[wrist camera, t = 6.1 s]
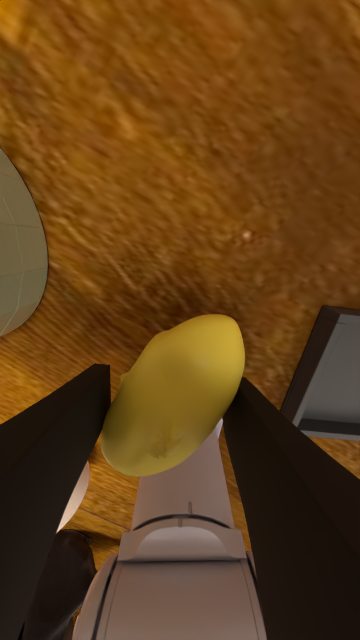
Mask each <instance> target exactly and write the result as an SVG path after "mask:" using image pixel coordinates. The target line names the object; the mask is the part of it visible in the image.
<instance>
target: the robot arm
mask: <svg viewBox="0 0 360 640" xmlns="http://www.w3.org/2000/svg"><path fill="white" fill-rule="evenodd" d="M110 404H111V389H110V365H105V364H94V365H92V366H91V367H89V368H88V369H86V370H85V371H83V372H82V373H80V374H79V375H77V376H76V377H75V378H73V379H72V380H70V381H69V382H67V383H66V384H64V385H63V386H61V387H60V388H58V389H57V390H56V391H54V392H53V393H51V394H50V395H48V396H47V397H45V398H43V399H42V400H40V401H38V402H37V403H35V404H34V405H32V406H30V407H29V408H27V409H26V410H24V411H22V412H21V413H19V414H18V415H16V416H14V417H13V418H11V419H9V420H8V421H6V422H4V423H2V424H1V425H0V640H18V637H19V634H20V631H21V628H22V625H23V623H24V620H25V617H26V614H27V611H28V608H29V606H30V603H31V600H32V597H33V595H34V592H35V589H36V586H37V584H38V581H39V578H40V575H41V573H42V570H43V567H44V564H45V562H46V559H47V556H48V554H49V551H50V548H51V546H52V543H53V540H54V538H55V535H56V532H57V530H58V527H59V525H60V522H61V519H62V517H63V514H64V511H65V509H66V507H67V504H68V502H69V500H70V497H71V495H72V493H73V491H74V488H75V486H76V484H77V482H78V480H79V478H80V476H81V473H82V471H83V469H84V467H85V465H86V463H87V461H88V459H89V456H90V454H91V452H92V450H93V448H94V446H95V443H96V441H97V439H98V437H99V435H100V433H101V430H102V427H103V422H104V418H105V416H106V413H107V411H108V409H109V407H110ZM222 424H223V426H224V433H225V439H226V443H227V447H228V451H229V455H230V458H231V462H232V466H233V470H234V474H235V477H236V481H237V485H238V489H239V493H240V496H241V500H242V504H243V508H244V513H245V517H246V521H247V526H248V532H249V537H250V543H251V548H252V551H246V552H245V547H244V542H243V538H242V533H241V530H240V529H235V528H234V523H233V517H232V512H231V507H230V502H229V496H228V491H227V486H226V480H225V475H224V470H223V465H222V459H221V454H220V449H219V443H218V438H219V435H220V431H221V427H222ZM72 640H360V479H358V478H357V477H356V476H355V475H353V474H352V473H351V472H350V471H348V470H347V469H346V468H344V467H343V466H342V465H341V464H339V463H338V462H337V461H336V460H334V459H333V458H332V457H331V456H329V455H328V454H327V453H326V452H325V451H323V450H322V449H321V448H320V447H319V446H317V445H316V444H315V443H314V442H313V441H312V440H311V439H309V438H308V437H307V436H306V435H305V434H304V433H303V432H302V431H300V430H299V429H298V428H297V427H296V426H295V425H294V424H293V423H292V422H291V421H289V420H288V419H287V418H286V417H285V416H284V415H283V414H282V413H281V412H280V411H279V410H278V409H277V408H276V407H275V406H274V405H273V404H272V403H271V402H270V401H269V400H268V399H267V398H266V397H265V396H264V395H263V394H262V393H261V392H260V391H259V390H258V389H257V388H256V387H255V386H254V385H252V384H251V383H250V382H249V381H248V380H247V379H246V378H245V377H242V378H241V381H240V384H239V387H238V390H237V393H236V395H235V397H234V399H233V401H232V403H231V404H230V406H229V407H228V409H227V411H226V412H225V414H224V415H223V417H222V418H221V420H220V421H219V423H218V424H217V426H216V427H215V429H214V430H213V432H212V433H211V434H210V435H209V436H208V437H207V438H206V440H205V441H204V442H203V443H202V444H201V446H199V447H198V448H197V449H196V450H195V451H194V452H193V453H192V454H191V455H190V456H189V457H188V458H187V459H185V460H184V461H183V462H181V463H180V464H178V465H176V466H174V467H172V468H170V469H167V470H165V471H162V472H160V473H157V474H153V475H149V476H140V478H139V484H138V490H137V495H136V501H135V507H134V513H133V518H132V524H131V530H130V531H127V532H123V533H122V538H121V543H120V548H119V553H118V554H111V555H110V556H108V557H107V559H106V560H105V562H104V563H103V565H102V567H101V568H100V570H99V571H98V572H97V574H96V575H95V577H94V579H93V581H92V583H91V585H90V587H89V589H88V592H87V594H86V597H85V600H84V603H83V606H82V609H81V612H80V615H79V618H78V621H77V625H76V628H75V632H74V635H73V639H72Z"/></svg>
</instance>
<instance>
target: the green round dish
mask: <svg viewBox="0 0 360 640" xmlns="http://www.w3.org/2000/svg"><path fill="white" fill-rule="evenodd" d="M47 271H48V255H47V245H46V240H45V234H44V230H43V226H42V223H41V220H40V216H39V213H38V211H37V209H36V206H35V204H34V201H33V199H32V197H31V194H30V193H29V191H28V189H27V187H26V185H25V183H24V182H23V180H22V178H21V176H20V174H19V173H18V172H17V170H16V169H15V167H14V166H13V164H12V163H11V161H10V160H9V158H8V157H7V155H6V154H5V153H4V152H3V150H2V149H1V148H0V338H2V337H3V336H5V335H7V334H8V333H10V332H12V331H14V330H15V329H17V328H18V327H20V326H21V325H23V323H25V322H26V321H27V319H28V318H29V317H30V316H31V315H32V314H33V312H34V311H35V309H36V308H37V306H38V304H39V303H40V300H41V298H42V295H43V293H44V289H45V285H46V280H47Z"/></svg>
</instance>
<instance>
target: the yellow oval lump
mask: <svg viewBox="0 0 360 640" xmlns="http://www.w3.org/2000/svg"><path fill="white" fill-rule="evenodd" d="M244 365H245V351H244V344H243V339H242V335H241V332H240V329H239V326H238V325H237V323H236V322H235V320H234V319H232V318H231V317H229V316H226V315H221V314H207V315H201V316H198V317H194V318H192V319H189V320H187V321H185V322H183V323H181V324H179V325H177V326H175V327H174V328H172V329H170V330H167V331H163V332H160V333H158V334H157V335H155V336H154V337H153V338H152V339H151V340H150V342H149V343H148V344H147V346H146V347H145V348H144V350H143V352H142V353H141V355H140V356H139V358H138V360H137V361H136V362H135V364H134V365H133V367H132V368H131V369H130V371H129V372H128V373H125V375H123V374H121V378H120V383H119V388H118V391H117V394H116V396H115V398H114V400H113V402H112V404H111V405H110V407H109V409H108V411H107V413H106V416H105V418H104V422H103V427H102V431H101V450H102V454H103V456H104V458H105V459H106V461H107V462H108V463H109V464H110V465H111V466H112V467H113V468H114V469H115V470H116V471H118V472H120V473H122V474H124V475H128V476H136V477H140V476H149V475H153V474H157V473H160V472H162V471H165V470H167V469H170V468H172V467H174V466H176V465H178V464H180V463H181V462H183V461H184V460H185V459H187V458H188V457H189V456H190V455H191V454H192V453H193V452H194V451H195V450H196V449H197V448H198V447H199V446H201V444H202V443H203V442H204V441H205V440H206V438H207V437H208V436H209V435H210V434H211V433H212V432H213V430H214V429H215V427H216V426H217V424H218V423H219V421H220V420H221V418H222V417H223V415H224V414H225V412H226V411H227V409H228V407H229V406H230V404H231V403H232V401H233V399H234V397H235V395H236V393H237V390H238V387H239V384H240V381H241V378H242V374H243V371H244Z"/></svg>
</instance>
